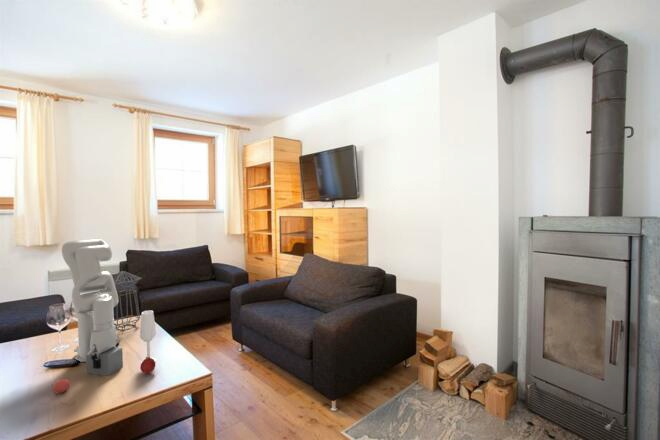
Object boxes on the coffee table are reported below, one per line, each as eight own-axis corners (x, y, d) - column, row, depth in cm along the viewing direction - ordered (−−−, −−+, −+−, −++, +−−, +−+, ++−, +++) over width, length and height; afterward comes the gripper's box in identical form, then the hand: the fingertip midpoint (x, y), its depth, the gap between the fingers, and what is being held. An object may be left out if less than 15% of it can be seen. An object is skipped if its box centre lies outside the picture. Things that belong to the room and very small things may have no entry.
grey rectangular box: (86, 373, 141) (86, 353, 141) (102, 364, 149) (101, 346, 148) (108, 375, 139) (108, 355, 139) (122, 366, 147) (122, 347, 146)
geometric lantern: (118, 334, 184) (114, 274, 182) (105, 329, 192) (101, 272, 190) (145, 325, 197) (142, 269, 196) (132, 321, 205) (129, 267, 204)
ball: (50, 395, 125) (49, 382, 124) (62, 388, 129) (62, 376, 129) (60, 396, 124) (60, 384, 123) (73, 389, 129) (72, 377, 128)
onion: (144, 370, 143) (144, 353, 142) (158, 370, 143) (157, 352, 143) (138, 377, 137) (137, 359, 137) (151, 377, 138) (151, 359, 137)
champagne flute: (149, 365, 147) (148, 315, 146) (137, 364, 149) (135, 314, 148) (160, 358, 154) (158, 310, 153) (148, 357, 155) (146, 309, 154)
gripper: (112, 318, 152) (114, 354, 153) (78, 332, 135) (80, 372, 136) (126, 319, 151) (127, 355, 152) (93, 333, 134) (95, 374, 135)
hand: (105, 363), depth 144 cm, fingers closed on grey rectangular box, 7 cm apart
